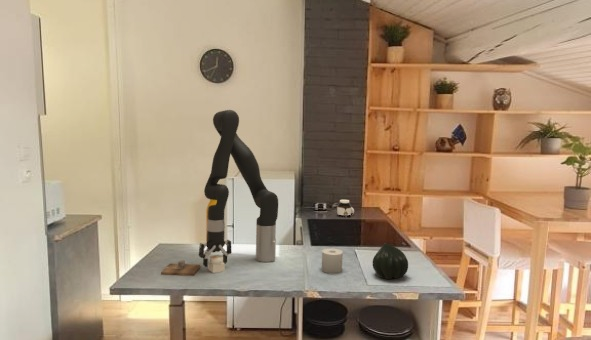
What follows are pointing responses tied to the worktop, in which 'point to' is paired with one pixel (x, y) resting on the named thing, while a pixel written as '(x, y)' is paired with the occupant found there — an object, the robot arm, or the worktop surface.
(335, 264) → the toilet tissue
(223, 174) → the robot arm
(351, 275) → the worktop surface
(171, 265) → the plate
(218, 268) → the knob
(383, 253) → the squash
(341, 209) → the spread jar
